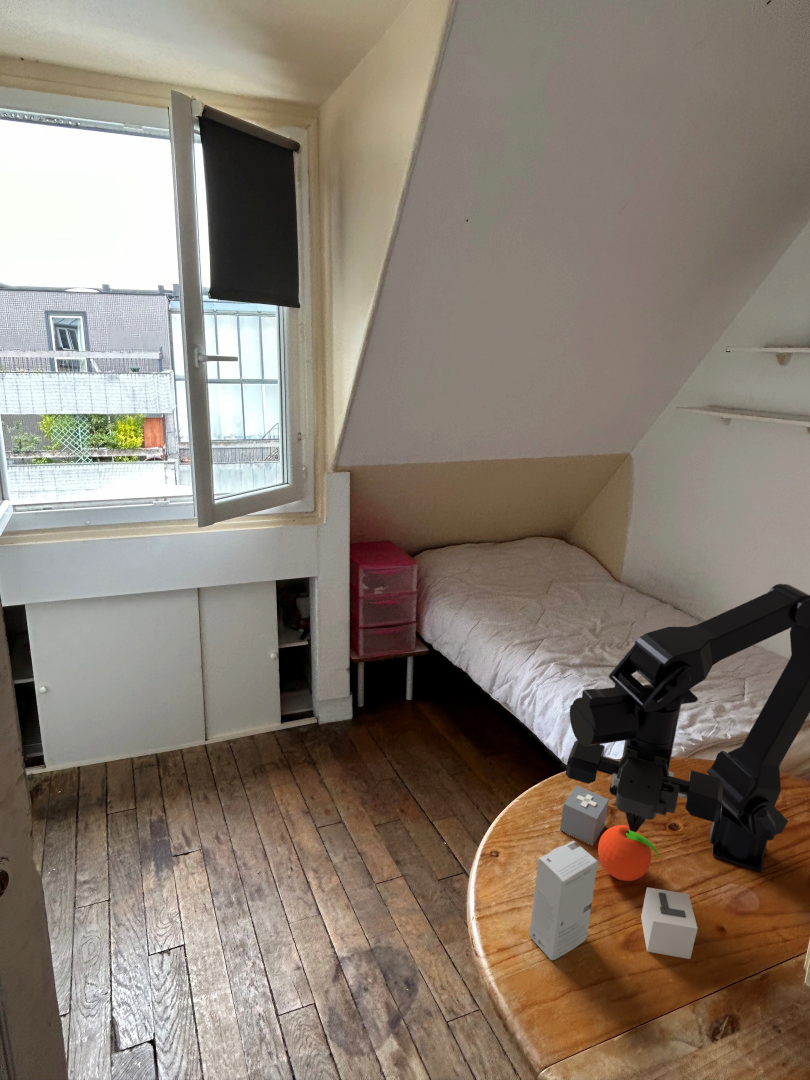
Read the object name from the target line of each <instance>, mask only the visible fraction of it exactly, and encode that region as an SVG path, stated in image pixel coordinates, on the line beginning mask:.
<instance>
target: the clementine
mask: <svg viewBox="0 0 810 1080" xmlns="http://www.w3.org/2000/svg"><path fill="white" fill-rule="evenodd" d="M598 841H599V842H598V846H597V847H598V848H597V854H598V858H599V860H600V861H599V862H600V863H601V865H602V867H603V868H604V870H606V872H607V873H608V874H609V875H610V876H612V877H613V878H615V879H617V880H619V881H623V882H633V881H635V880H638V879H641V878H642V877H643V876H644V875H646V873H647V872H648V870H649V868H650V866H651V863H652V851H651V849H652V850H653V851H654V852H655V853H656V854H657V857H658V859H659V860H661V858H660V854H659V851H658V850H657V848H656V846H655V845H654V844H652V842H651V841H649V839H648V838H646V837H645V836H644V835H643V834H642V832H641V831H639V830H638V831H637V832H633V831H630V829H629V825H626V824H625V825H624V824H617V825H614V826H612V827H610V828H608V829H606V830H605V831H604V832H603V833H602V835H601V836H600V838H599V840H598Z"/></svg>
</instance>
